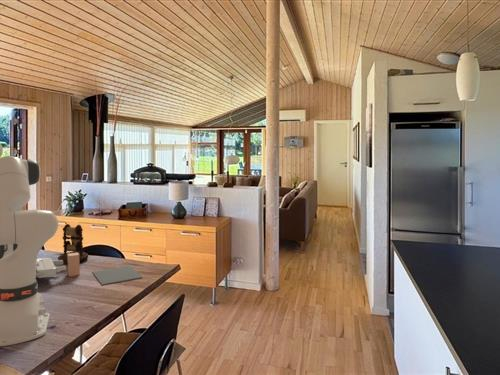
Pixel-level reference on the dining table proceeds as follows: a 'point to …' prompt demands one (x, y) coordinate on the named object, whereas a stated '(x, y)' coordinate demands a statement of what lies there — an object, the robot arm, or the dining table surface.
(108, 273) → the flat slab
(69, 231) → the dark brown ornate stand
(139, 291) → the dining table surface
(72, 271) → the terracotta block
